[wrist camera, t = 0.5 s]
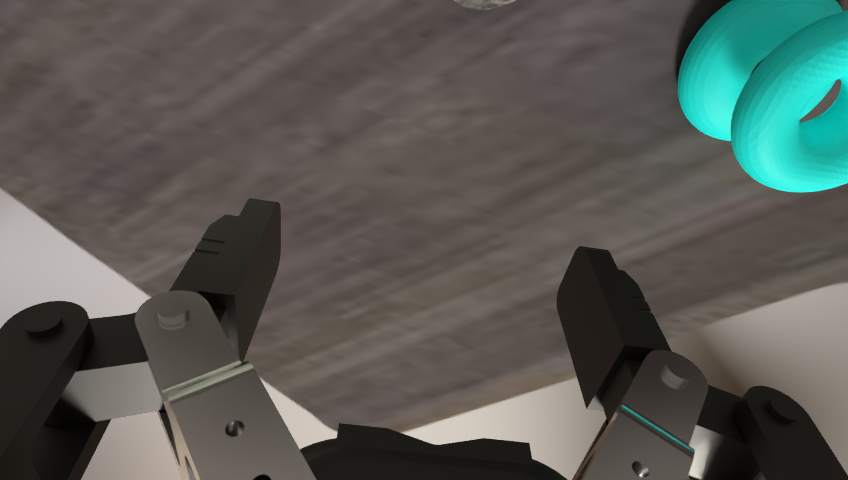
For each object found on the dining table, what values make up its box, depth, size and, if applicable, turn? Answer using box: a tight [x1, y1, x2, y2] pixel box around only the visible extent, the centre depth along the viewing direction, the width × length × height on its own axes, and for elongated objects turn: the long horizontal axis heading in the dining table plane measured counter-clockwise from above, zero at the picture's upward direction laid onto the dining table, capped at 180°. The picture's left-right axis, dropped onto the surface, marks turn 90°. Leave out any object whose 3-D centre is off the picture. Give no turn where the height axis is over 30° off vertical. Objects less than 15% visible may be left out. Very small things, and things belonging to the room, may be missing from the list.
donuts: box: [677, 0, 848, 192], centre depth 30 cm, size 10×10×10 cm
